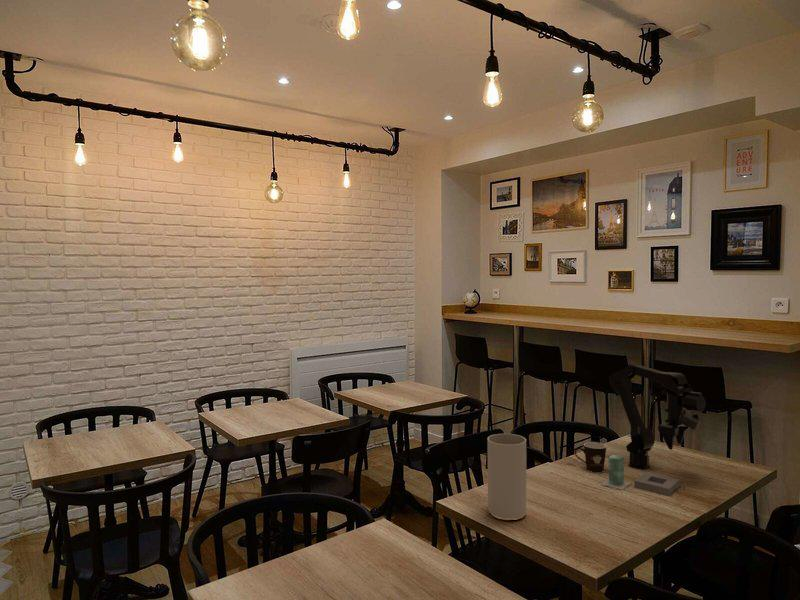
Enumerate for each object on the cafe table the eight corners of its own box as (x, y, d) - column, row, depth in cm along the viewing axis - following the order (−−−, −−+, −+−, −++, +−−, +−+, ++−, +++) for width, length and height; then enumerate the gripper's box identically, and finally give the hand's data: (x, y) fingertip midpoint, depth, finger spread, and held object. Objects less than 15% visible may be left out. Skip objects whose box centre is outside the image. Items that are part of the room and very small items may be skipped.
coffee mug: (608, 468, 222) (608, 444, 222) (603, 475, 215) (603, 449, 215) (579, 463, 228) (579, 439, 228) (573, 469, 221) (573, 445, 221)
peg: (608, 483, 205) (608, 457, 204) (613, 480, 208) (613, 454, 207) (619, 486, 202) (619, 459, 202) (623, 483, 205) (623, 456, 205)
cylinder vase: (481, 515, 180) (480, 440, 179) (498, 502, 190) (498, 431, 189) (516, 525, 173) (515, 447, 172) (532, 511, 183) (532, 437, 182)
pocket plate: (634, 487, 202) (634, 480, 202) (646, 478, 211) (646, 471, 211) (669, 495, 194) (669, 488, 194) (679, 486, 203) (679, 479, 203)
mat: (601, 485, 205) (601, 483, 205) (609, 479, 211) (609, 478, 210) (622, 490, 199) (622, 489, 199) (630, 484, 205) (630, 483, 205)
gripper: (689, 414, 197) (689, 457, 198) (706, 405, 210) (706, 445, 211) (657, 409, 205) (657, 450, 206) (676, 401, 218) (675, 439, 219)
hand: (675, 446), depth 210 cm, fingers open, 9 cm apart
